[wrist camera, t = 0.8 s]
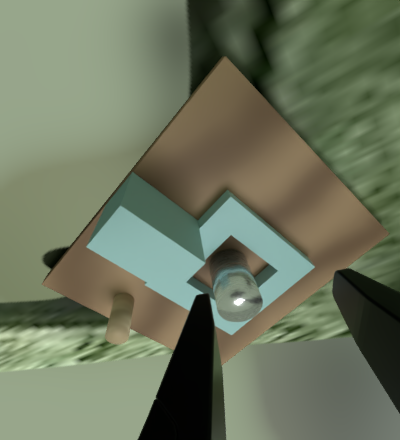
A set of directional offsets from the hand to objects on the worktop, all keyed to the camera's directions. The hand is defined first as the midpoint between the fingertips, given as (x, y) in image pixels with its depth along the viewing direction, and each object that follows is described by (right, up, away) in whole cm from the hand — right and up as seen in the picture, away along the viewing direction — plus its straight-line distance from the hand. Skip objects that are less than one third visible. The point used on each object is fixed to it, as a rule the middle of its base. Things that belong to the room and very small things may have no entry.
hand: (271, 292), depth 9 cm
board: (-1, 0, +14) cm, 14 cm away
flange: (-2, 0, +12) cm, 13 cm away
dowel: (-8, -4, +14) cm, 17 cm away
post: (0, -1, +14) cm, 14 cm away
